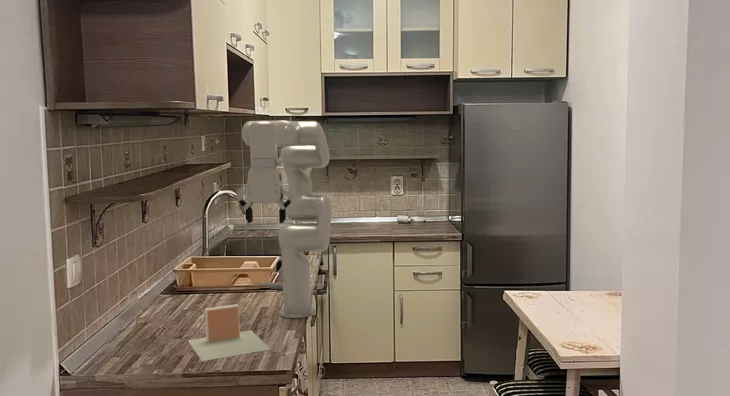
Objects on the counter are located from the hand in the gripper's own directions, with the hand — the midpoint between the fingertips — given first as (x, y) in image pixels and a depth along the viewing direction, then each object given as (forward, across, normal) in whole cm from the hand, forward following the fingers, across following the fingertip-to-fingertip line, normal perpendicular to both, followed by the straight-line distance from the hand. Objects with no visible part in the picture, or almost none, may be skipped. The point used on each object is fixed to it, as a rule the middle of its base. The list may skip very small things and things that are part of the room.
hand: (266, 222), depth 192 cm
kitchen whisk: (+38, +8, -63) cm, 74 cm away
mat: (+37, +12, +2) cm, 39 cm away
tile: (+37, +16, -3) cm, 40 cm away
